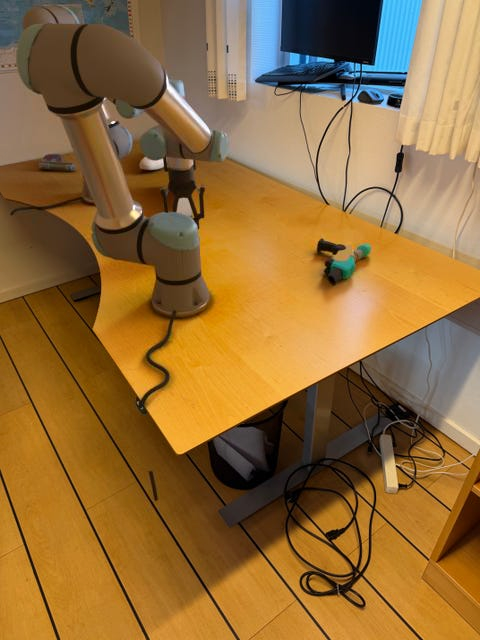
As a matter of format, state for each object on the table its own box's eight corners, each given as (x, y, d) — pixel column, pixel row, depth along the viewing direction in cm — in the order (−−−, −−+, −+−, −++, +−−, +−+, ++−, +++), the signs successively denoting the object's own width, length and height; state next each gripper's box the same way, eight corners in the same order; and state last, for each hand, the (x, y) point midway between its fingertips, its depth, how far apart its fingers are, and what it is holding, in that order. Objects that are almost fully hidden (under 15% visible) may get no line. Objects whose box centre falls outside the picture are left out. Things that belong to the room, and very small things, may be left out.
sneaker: (133, 173, 208) (129, 144, 201) (161, 153, 230) (158, 127, 223) (155, 175, 205) (151, 146, 198) (180, 155, 227) (178, 129, 220)
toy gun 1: (87, 162, 220) (72, 173, 209) (51, 160, 224) (33, 171, 212) (86, 154, 218) (70, 164, 206) (49, 152, 221) (31, 162, 209)
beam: (195, 250, 147) (193, 226, 142) (179, 251, 146) (177, 227, 142) (186, 182, 195) (185, 162, 190) (175, 183, 195) (173, 163, 190)
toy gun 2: (295, 266, 131) (348, 279, 125) (326, 230, 149) (373, 240, 144) (294, 280, 133) (346, 293, 128) (325, 243, 152) (371, 253, 146)
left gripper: (200, 123, 179) (203, 183, 193) (152, 125, 177) (159, 185, 191) (201, 128, 173) (204, 190, 187) (151, 130, 171) (158, 192, 185)
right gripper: (210, 160, 142) (213, 232, 156) (149, 163, 140) (158, 235, 154) (212, 169, 136) (215, 242, 150) (149, 172, 134) (158, 246, 148)
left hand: (181, 187), depth 189 cm, fingers closed on beam, 5 cm apart
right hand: (186, 239), depth 152 cm, fingers closed on beam, 5 cm apart
